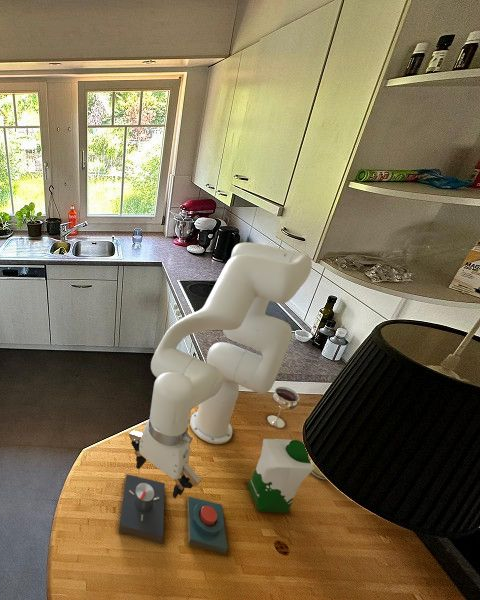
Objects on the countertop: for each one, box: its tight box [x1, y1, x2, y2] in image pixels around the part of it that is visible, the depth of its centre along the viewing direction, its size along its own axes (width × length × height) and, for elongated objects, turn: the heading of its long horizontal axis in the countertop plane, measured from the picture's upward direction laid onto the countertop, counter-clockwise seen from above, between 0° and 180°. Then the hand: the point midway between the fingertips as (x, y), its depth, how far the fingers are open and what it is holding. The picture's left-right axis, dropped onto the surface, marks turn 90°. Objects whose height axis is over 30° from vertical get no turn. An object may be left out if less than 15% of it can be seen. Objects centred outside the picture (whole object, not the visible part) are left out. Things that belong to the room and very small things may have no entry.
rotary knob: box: [134, 483, 154, 512], centre depth 78 cm, size 4×4×5 cm
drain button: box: [200, 506, 217, 526], centre depth 76 cm, size 4×4×2 cm
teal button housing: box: [186, 496, 228, 555], centre depth 77 cm, size 10×8×4 cm
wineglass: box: [267, 386, 300, 428], centre depth 103 cm, size 7×7×12 cm
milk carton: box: [247, 438, 314, 514], centre depth 79 cm, size 9×9×20 cm
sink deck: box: [118, 473, 166, 544], centre depth 80 cm, size 13×10×3 cm
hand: (158, 478), depth 74 cm, fingers open, 9 cm apart
